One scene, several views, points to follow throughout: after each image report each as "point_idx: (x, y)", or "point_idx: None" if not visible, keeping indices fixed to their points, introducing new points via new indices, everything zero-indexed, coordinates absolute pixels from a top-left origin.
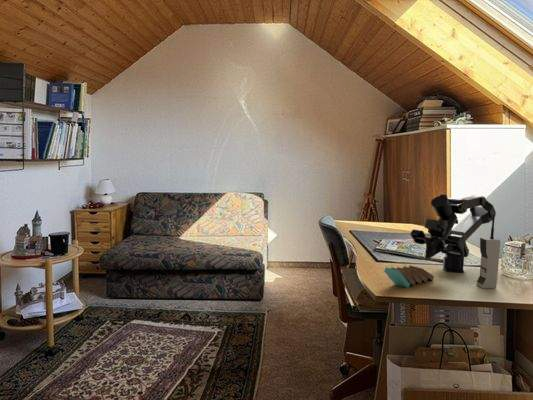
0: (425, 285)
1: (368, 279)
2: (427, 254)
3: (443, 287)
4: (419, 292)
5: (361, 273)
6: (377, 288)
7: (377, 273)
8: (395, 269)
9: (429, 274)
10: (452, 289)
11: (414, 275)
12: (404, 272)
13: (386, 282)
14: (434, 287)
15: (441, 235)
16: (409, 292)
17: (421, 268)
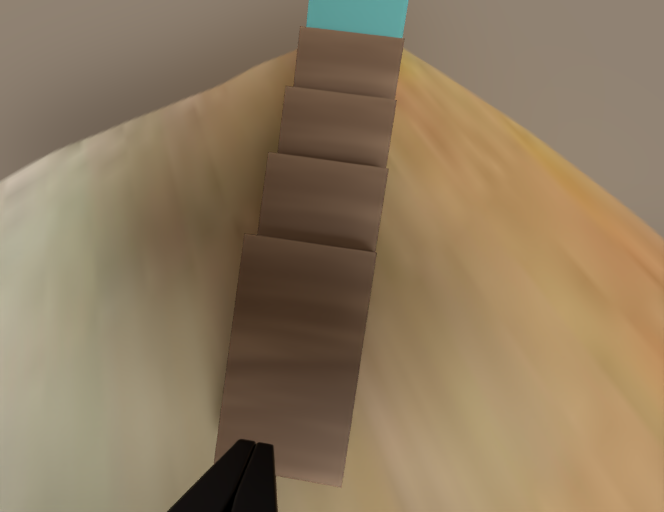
0: (236, 272)
1: (527, 156)
2: (237, 477)
3: (125, 314)
4: (228, 140)
5: (647, 228)
6: (404, 75)
7: (598, 303)
8: (367, 38)
9: (228, 375)
10: (65, 313)
11: None
12: (301, 40)
13: (431, 172)
14: (178, 272)
15: None
16: (267, 112)
17: (254, 235)
